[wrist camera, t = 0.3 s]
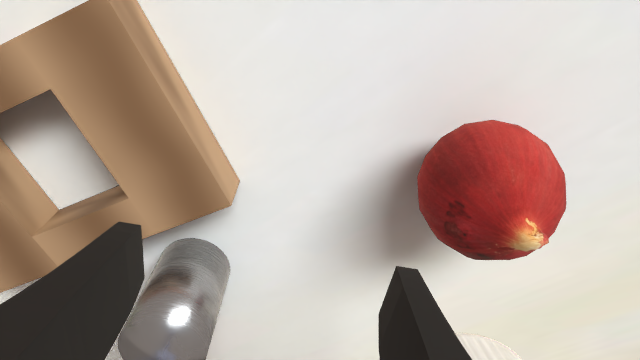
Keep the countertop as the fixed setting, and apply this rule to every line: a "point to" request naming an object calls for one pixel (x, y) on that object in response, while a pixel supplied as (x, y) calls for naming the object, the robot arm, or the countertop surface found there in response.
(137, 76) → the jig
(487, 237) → the onion
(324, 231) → the countertop surface
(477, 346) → the ramekin
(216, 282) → the brushed metal cylinder
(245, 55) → the countertop surface
